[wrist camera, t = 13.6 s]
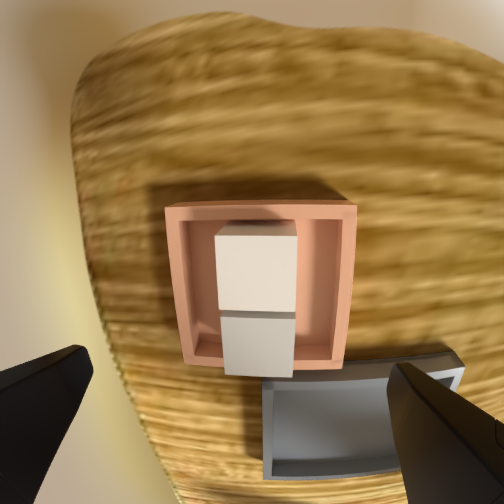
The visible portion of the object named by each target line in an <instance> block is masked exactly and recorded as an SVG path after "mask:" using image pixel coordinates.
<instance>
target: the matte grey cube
mask: <svg viewBox="0 0 504 504" xmlns="http://www.w3.org/2000/svg"><path fill="white" fill-rule="evenodd" d="M220 319H221V332H222V345H223V357H224V369H225V374H226V375H241V376H260V377H292V375H293V360H294V344H295V325H296V313H295V312H274V311H240V310H223V312H222V314H221V317H220Z"/></svg>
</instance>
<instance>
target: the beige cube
mask: <svg viewBox="0 0 504 504" xmlns="http://www.w3.org/2000/svg"><path fill="white" fill-rule="evenodd" d="M297 240H298V236H297V230H296V224H295V221H228V222H227V223H226V225H225V226H224V227H223V228H222V229H221V230H220V231H219V232H218V233H217V234H216V235H215V253H216V271H217V287H218V302H219V310H240V311H274V312H295V306H296V279H297Z"/></svg>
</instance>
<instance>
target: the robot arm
mask: <svg viewBox="0 0 504 504" xmlns="http://www.w3.org/2000/svg"><path fill="white" fill-rule="evenodd" d="M92 375H93V366H92V363H91V360H90V357H89V354H88V351H87V349H86V348H85V347H84V346H80V345H71V346H69V347H66V348H63V349H61V350H58V351H56V352H53V353H50V354H47V355H44V356H42V357H39V358H36V359H33V360H31V361H28V362H25V363H23V364H20V365H17V366H14V367H12V368H9V369H6V370H3V371H0V504H33V503H34V501H35V498H36V496H37V494H38V491H39V489H40V487H41V484H42V482H43V480H44V478H45V475H46V474H47V471H48V469H49V467H50V465H51V463H52V461H53V459H54V457H55V455H56V453H57V450H58V448H59V446H60V444H61V442H62V440H63V438H64V436H65V434H66V432H67V431H68V429H69V427H70V425H71V423H72V421H73V419H74V417H75V415H76V413H77V411H78V409H79V406H80V404H81V402H82V399H83V397H84V394H85V392H86V389H87V387H88V385H89V382H90V380H91V378H92ZM386 393H387V399H388V406H389V412H390V419H391V426H392V433H393V439H394V443H395V447H396V451H397V455H398V459H399V463H400V467H401V472H402V476H403V480H404V485H405V490H406V494H407V499H408V504H504V424H503V423H502V422H500V421H499V420H497V419H496V420H495V418H494V417H492V416H491V415H489V414H488V413H486V412H485V411H483V410H482V409H480V408H478V407H477V406H475V405H474V404H472V403H471V402H469V401H468V400H466V399H465V398H463V397H461V396H460V395H458V394H457V393H455V392H454V391H452V390H451V389H449V388H448V387H446V386H445V385H443V384H441V383H440V382H438V381H437V380H435V379H434V378H432V377H431V376H429V375H428V374H426V373H425V372H423V371H422V370H420V369H419V368H417V367H415V366H414V365H412V364H411V363H409V362H396V363H394V364H393V366H392V368H391V372H390V376H389V379H388V383H387V388H386Z"/></svg>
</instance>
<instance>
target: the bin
mask: <svg viewBox="0 0 504 504" xmlns="http://www.w3.org/2000/svg"><path fill="white" fill-rule="evenodd" d="M396 362H409V363H411V364H412V365H414V366H415V367H417V368H419V369H420V370H422V371H423V372H425V373H426V374H428V375H429V376H431V377H432V378H434V379H435V380H437V381H438V382H440V383H441V384H443V385H445V386H446V387H448V388H449V389H451V390H452V391H454V392H455V391H456V389H457V387H458V384H459V382H460V379H461V377H462V374H463V372H464V369H465V365H464V364H463V363H462V361H461V360H460V358H459V357H458V356H457V354H456V353H455V352H454V351H449V352H441V353H434V354H426V355H417V356H407V357H397V358H384V359H370V360H352V361H343V365H342V369H322V370H293V375H292V377H263V378H262V415H263V480H324V479H340V478H351V477H360V476H369V475H376V474H383V473H389V472H395V471H400V470H401V467H400V463H399V459H398V455H397V451H396V447H395V443H394V439H393V433H392V426H391V419H390V412H389V406H388V399H387V393H386V388H387V383H388V379H389V376H390V372H391V368H392V366H393V364H394V363H396Z"/></svg>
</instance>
